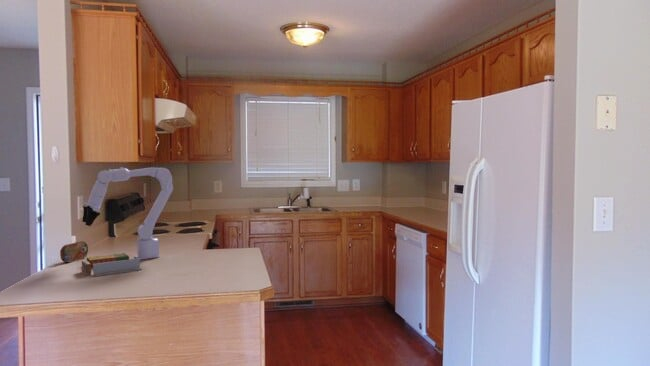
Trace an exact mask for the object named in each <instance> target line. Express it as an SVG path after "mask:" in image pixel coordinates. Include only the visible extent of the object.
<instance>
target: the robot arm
mask: <svg viewBox="0 0 650 366" xmlns="http://www.w3.org/2000/svg"><path fill="white" fill-rule="evenodd" d="M143 176H150V177H153V178H156V180H157V181H158V182H159V184H160V187H161V190H160V192H159V193H158V195H157V197H156V199H155V201H154V203H153V205H152V207H151V209H150V211H148V214H147V216H146V218H145V219H144V220H143V222H142V223H141V224H140V225H139V226H138V227H137V234H138V237H137V238H136V250H137V251H136V252H137V253H136V254H137V255H134V258H135V259H137V258H140V261H141V260H146V259H154V258H160V244H159V239H158V238H157V237H155V238H154V236H153V233H154V232H153V231H154V228H155V226H156V223H157V220H158V219H159V217H160V215H161V213H162V212H163V209H164V207H166V203H167V202H168V201H169V198H170V196H171V195H172V193H173V191H174V184H173V176H172V174H171V171H170V170H169V169H168V168H166V167H145V168H138V169H131V170H130V169H128V168H126V167H123V166H121V167H119V168H115V169H111V168H108V170H106V169H105V170H101V171H100V172H99V173H98V174H97V179H96V180H95V183H94V184H93V187H92V189H91V192H90V195H89V196H88V200H87V202H85V201H84V202H83V204H85V205H87V206H85V205H83V206H82V207H83V215H82V223H84V224H85V226H87V227H91V226H92V225H93V223H94V222H95V220H96V219H97V218H98V217H99V216H100V215H101V212H99V210H100V209H101V206H102V203H103V201H104V198H105V196H106V193H107V190H108V186H109V183H110V182H112V183H114V182H124V181H128V180H130V178H131V177H132V178H133V177H143Z"/></svg>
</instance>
